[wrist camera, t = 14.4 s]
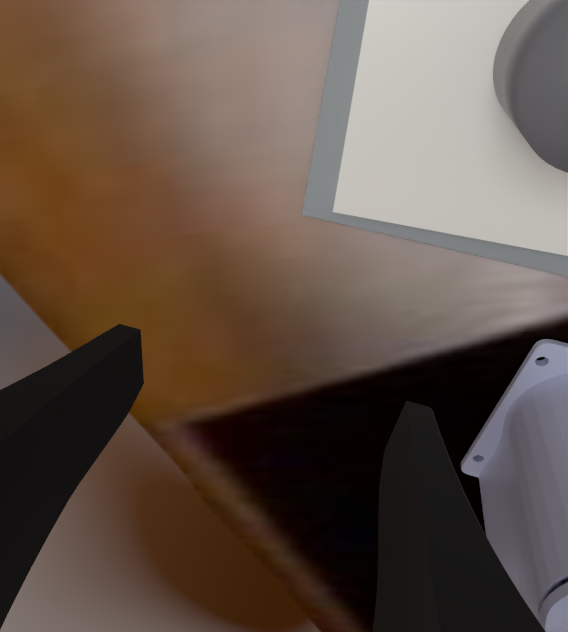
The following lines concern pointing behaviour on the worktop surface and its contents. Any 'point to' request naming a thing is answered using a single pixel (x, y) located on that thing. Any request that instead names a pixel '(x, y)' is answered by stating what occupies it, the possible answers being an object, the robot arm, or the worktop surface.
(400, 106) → the cover
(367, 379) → the worktop surface
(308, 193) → the mat
